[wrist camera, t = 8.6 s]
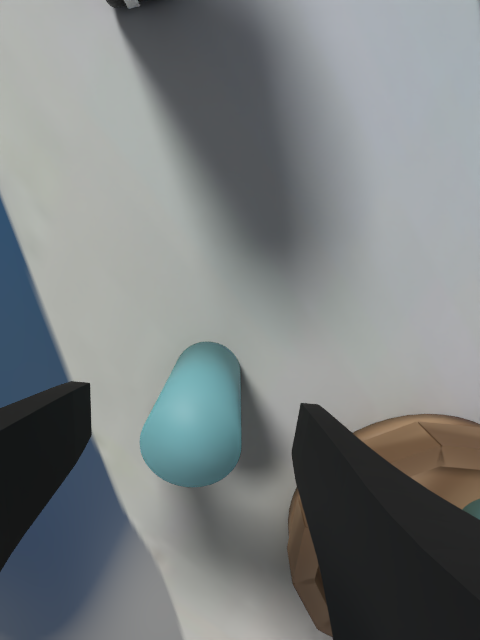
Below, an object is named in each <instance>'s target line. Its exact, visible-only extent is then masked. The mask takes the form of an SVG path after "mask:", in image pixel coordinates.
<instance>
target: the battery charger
mask: <svg viewBox="0 0 480 640" xmlns="http://www.w3.org/2000/svg"><path fill="white" fill-rule="evenodd" d="M106 1H107V2H108V4H109V5H110V6H112V7H122V6H126V5H127V7H128V9H130V8H134V7H138V6H140V2H142V1H146V0H106Z"/></svg>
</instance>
